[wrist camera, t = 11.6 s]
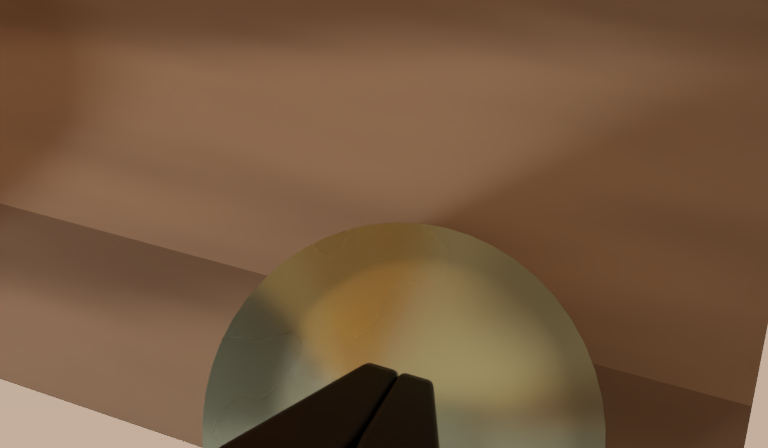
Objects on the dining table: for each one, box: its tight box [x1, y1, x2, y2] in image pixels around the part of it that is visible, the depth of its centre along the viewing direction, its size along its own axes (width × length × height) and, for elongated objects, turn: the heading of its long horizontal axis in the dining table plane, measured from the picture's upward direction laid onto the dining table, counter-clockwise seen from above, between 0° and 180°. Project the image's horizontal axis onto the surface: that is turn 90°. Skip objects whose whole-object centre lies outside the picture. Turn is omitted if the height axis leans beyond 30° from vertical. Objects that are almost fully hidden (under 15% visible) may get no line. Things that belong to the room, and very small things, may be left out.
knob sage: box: [203, 222, 606, 448], centre depth 12 cm, size 8×5×5 cm, turn 11°
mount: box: [0, 0, 768, 448], centre depth 15 cm, size 5×22×10 cm, turn 101°
